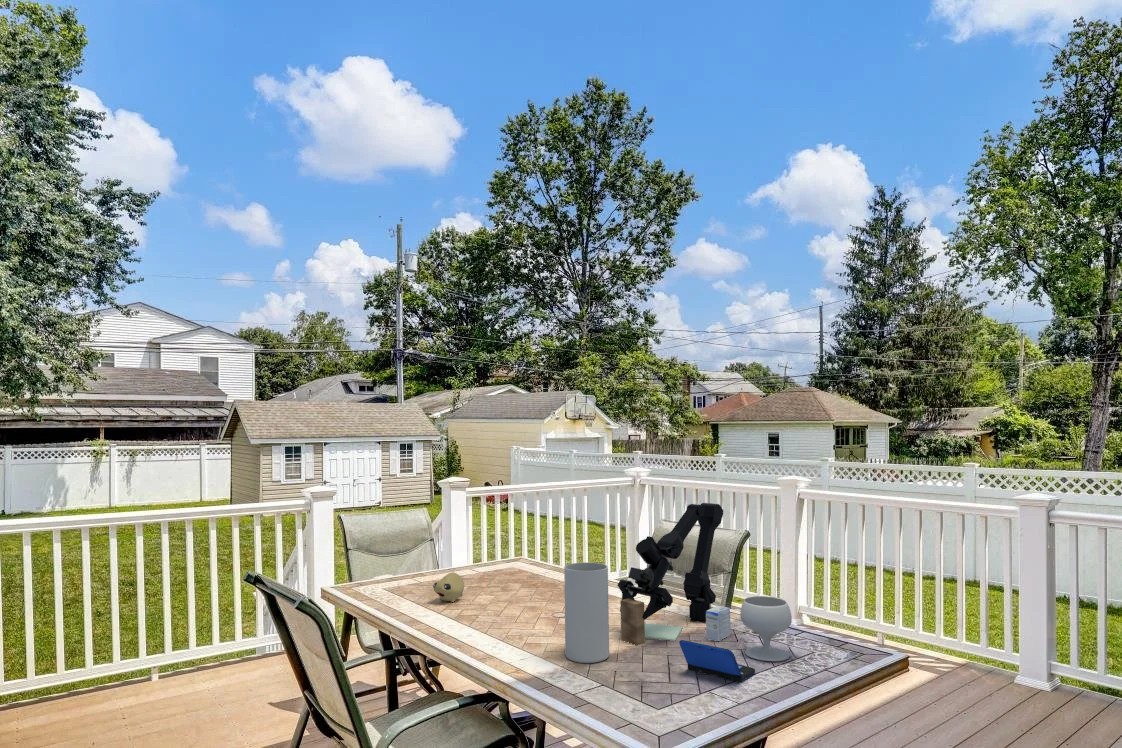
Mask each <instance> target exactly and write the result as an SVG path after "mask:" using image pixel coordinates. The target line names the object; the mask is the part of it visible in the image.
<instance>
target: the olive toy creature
mask: <svg viewBox="0 0 1122 748" xmlns="http://www.w3.org/2000/svg"><path fill="white" fill-rule="evenodd" d="M432 588H433V591H434V593H435V594H436V595H438V597H439V598H440V601H441V600H444V601H445V602H451V603H452V602H454V601H455V602H456V600H457V599H459V598H462V597H463V593H464V590H465V581H464V580H463V578H462V577H461V575H459V574H458V573H457V572H453V571H452V572H449V573H448V574H446V575H445V576H443V577H442V578H441V579H440V580H438V581H437V582H434V583H433V585H432ZM455 602H454V603H455Z"/></svg>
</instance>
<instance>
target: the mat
mask: <svg viewBox="0 0 1122 748" xmlns="http://www.w3.org/2000/svg"><path fill="white" fill-rule="evenodd" d="M682 629H683V630H684V626H678V625H677V626H676V625H668V624H667V625H666V624H657V623H656V624H655V623H646V622H645V640H653V639H661V640H660V641H663V640H670V641H669V642H673V641H675V640H677V639H678V638H679V636H680V635H681V633H682V632H683V630H682ZM677 637H678V638H677ZM675 642H676V641H675Z"/></svg>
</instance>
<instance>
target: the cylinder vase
mask: <svg viewBox="0 0 1122 748" xmlns="http://www.w3.org/2000/svg"><path fill="white" fill-rule="evenodd" d="M563 571H564V572H563V573H564V579H563V580H564V641H565V642H564V651H565V653H564V654H565V657H566V658H567V659H568V660H570V661H572V662H574V663H580V664H594V663H595V664H596V663H600V662H604V661H605V660H606V659H608V658H609V657H610V624H609V623H610V621H609V619H610V618H609V615H610V614H609V613H610V611H609V607H610V606H609V566H608V565H607V564H605V563H599V562H574V563H569V564H568V563H567V564H566V565H564V569H563Z"/></svg>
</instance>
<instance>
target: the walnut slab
mask: <svg viewBox="0 0 1122 748" xmlns="http://www.w3.org/2000/svg"><path fill="white" fill-rule="evenodd" d="M620 607H621V613H620V640H621V641H622V642H624V641H625V643H627V642H629V643H628V644H630V643H632V645H634V644H635V646H641V645H642V644H645V643H646V639H645V623H646V622H645V620H644V619H643V618H642V617H643V614H644V612H645V602H644V601H640V600H636V599H635V600H633V599H629V598H628V599H624V600H622V599H621V600H620Z"/></svg>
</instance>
